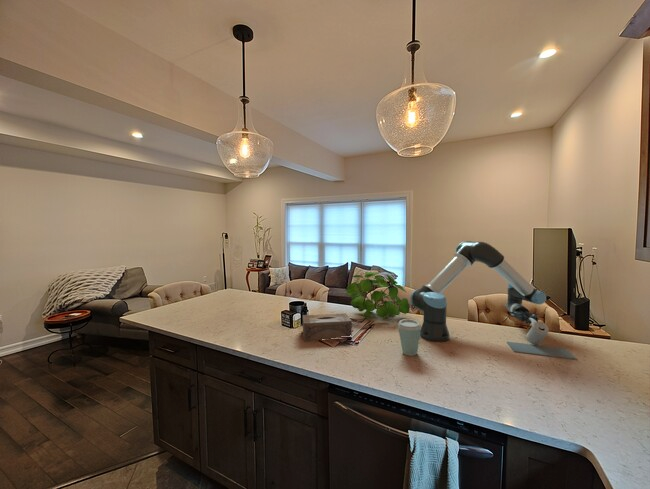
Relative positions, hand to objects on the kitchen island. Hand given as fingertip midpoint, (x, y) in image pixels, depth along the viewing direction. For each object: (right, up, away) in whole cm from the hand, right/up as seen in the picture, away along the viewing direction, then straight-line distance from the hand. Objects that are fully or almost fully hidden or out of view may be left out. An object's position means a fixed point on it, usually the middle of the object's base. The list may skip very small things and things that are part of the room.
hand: (535, 324), depth 137 cm
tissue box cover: (-106, -11, +15) cm, 108 cm away
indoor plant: (-71, -9, +52) cm, 88 cm away
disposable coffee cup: (-67, -11, -9) cm, 68 cm away
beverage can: (0, -8, +1) cm, 9 cm away
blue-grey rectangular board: (-3, -11, -7) cm, 13 cm away
